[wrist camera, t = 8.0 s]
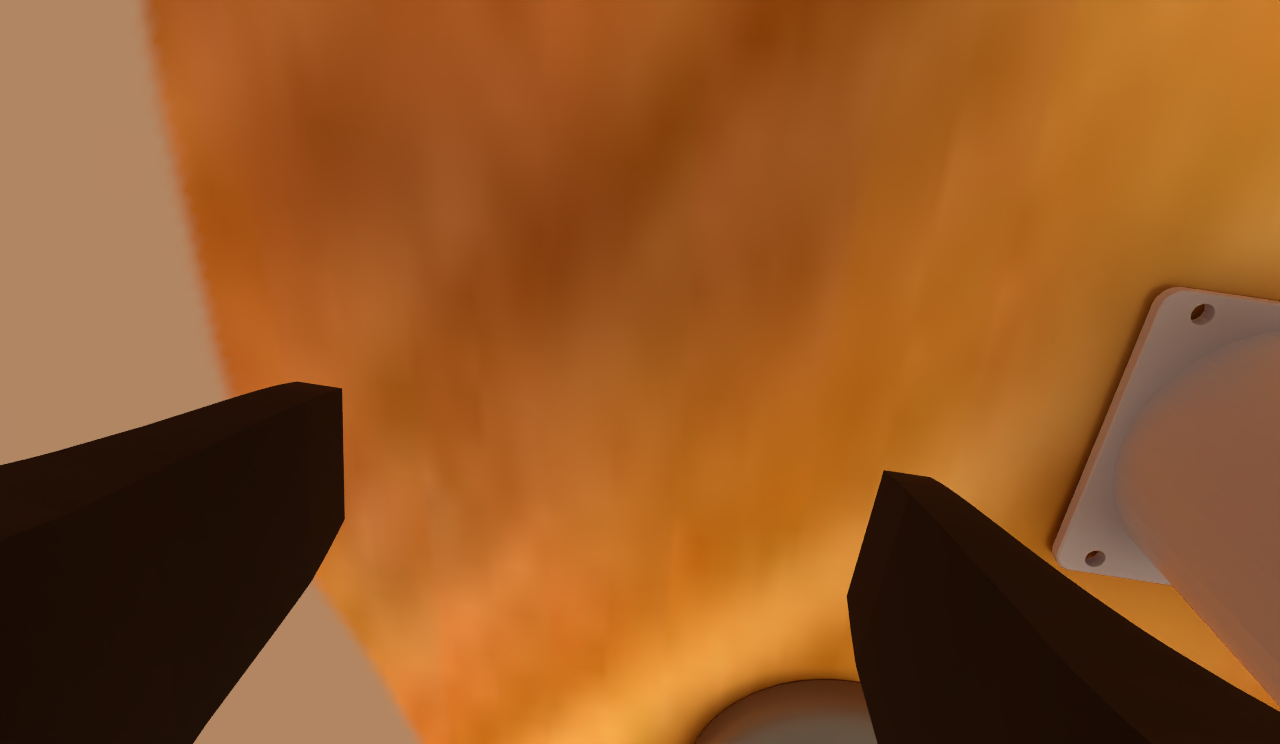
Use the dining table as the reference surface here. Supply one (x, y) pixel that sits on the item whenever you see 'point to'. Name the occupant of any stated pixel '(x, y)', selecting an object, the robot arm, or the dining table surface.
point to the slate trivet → (795, 716)
